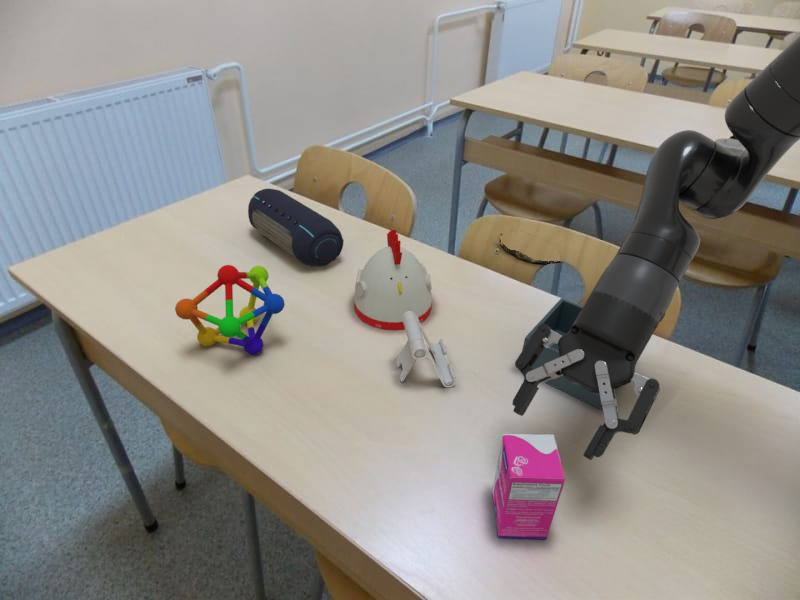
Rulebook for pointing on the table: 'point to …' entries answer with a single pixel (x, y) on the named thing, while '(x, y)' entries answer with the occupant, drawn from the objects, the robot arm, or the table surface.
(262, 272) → the educational toy
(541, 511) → the supplement box
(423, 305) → the kitchen timer
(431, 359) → the tablet stand
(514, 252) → the dark brown curved strip
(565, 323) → the bin
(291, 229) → the portable speaker
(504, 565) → the table surface
